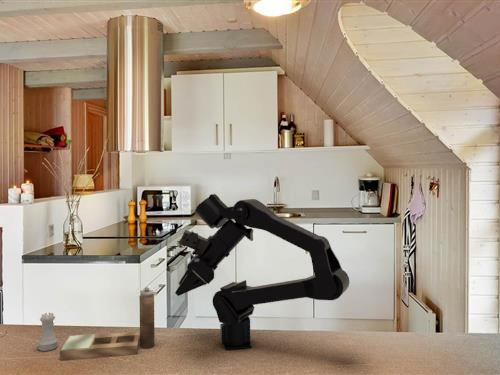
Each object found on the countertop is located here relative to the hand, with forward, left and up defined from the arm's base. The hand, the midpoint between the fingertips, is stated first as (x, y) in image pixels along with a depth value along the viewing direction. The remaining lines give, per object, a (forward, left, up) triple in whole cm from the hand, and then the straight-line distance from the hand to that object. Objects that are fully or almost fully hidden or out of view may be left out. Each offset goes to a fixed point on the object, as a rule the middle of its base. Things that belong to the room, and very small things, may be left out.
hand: (178, 289), depth 101 cm
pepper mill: (+7, -2, -13) cm, 15 cm away
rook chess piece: (+30, -5, -14) cm, 34 cm away
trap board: (+18, -1, -13) cm, 22 cm away
